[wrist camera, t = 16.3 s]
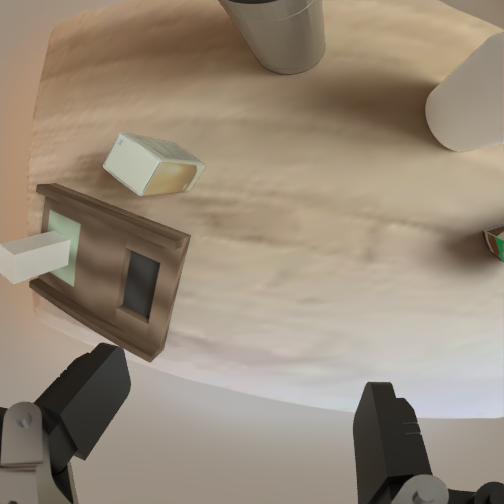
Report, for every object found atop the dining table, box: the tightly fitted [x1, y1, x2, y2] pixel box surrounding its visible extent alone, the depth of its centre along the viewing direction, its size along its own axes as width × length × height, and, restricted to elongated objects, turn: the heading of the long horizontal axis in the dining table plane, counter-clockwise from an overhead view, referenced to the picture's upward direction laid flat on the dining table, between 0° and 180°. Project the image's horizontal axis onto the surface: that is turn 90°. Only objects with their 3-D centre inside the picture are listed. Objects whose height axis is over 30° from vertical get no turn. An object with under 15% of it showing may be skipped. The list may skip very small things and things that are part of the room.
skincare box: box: [103, 132, 205, 196], centre depth 34 cm, size 6×4×12 cm
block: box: [0, 231, 71, 284], centre depth 40 cm, size 4×4×12 cm
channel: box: [29, 183, 191, 362], centre depth 44 cm, size 19×28×4 cm
